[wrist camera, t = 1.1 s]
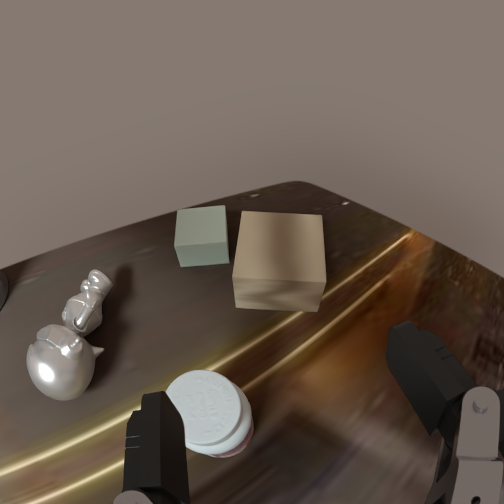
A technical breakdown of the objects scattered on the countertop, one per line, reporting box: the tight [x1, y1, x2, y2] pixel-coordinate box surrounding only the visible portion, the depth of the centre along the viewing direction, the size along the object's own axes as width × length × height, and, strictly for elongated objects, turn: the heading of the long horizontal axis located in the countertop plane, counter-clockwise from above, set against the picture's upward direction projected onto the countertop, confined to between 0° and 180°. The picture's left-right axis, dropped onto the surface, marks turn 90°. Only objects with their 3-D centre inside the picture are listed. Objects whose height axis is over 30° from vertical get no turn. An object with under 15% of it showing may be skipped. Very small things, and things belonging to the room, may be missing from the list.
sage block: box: [174, 205, 229, 267], centre depth 40 cm, size 6×6×4 cm
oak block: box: [232, 211, 326, 312], centre depth 36 cm, size 9×9×6 cm
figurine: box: [27, 270, 113, 401], centre depth 30 cm, size 11×7×15 cm
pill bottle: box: [166, 370, 254, 458], centre depth 23 cm, size 6×6×11 cm
